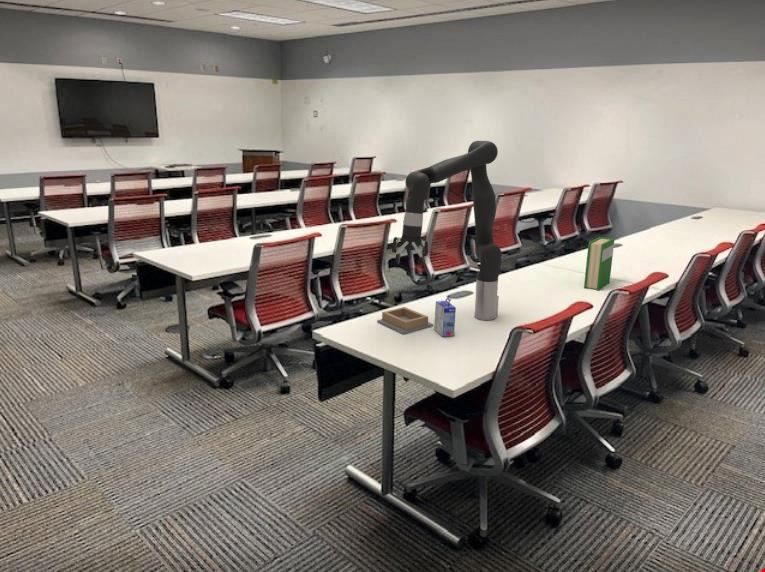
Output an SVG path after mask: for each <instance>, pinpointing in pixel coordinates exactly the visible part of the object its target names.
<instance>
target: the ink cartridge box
mask: <svg viewBox="0 0 765 572" xmlns="http://www.w3.org/2000/svg"><path fill="white" fill-rule="evenodd" d="M451 301H452V300H451V298H450V297H448V296H447V297H446V299H445V300H438V301H435V309H434V323H433V328H434V329H433V330H435V331H436V332H437V333H438V334H439V335H440V336H441V337H443V338H444V337H455V330H456V329H455V328H456V325H455V324H456V311H457V307H456V306H455V305H454V304H452V303H450V302H451Z"/></svg>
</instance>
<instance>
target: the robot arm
mask: <svg viewBox="0 0 765 572" xmlns="http://www.w3.org/2000/svg"><path fill="white" fill-rule="evenodd" d="M498 154H499V153H498V147H497V145H496V143H494V142H492V141H489V140H474V141H472V142H471V143H470V145H469V146H468V149H467V153H464V154H462V155H458V156H454V157H450V158H447V159H444V160H442V161H439V162H436V163H435V164H433V165H430V166H428V167H423V168H421V169H418V170H415V171H413V172H410V173H409V174H408V175H407V176H406V178H405V181H404V182H405V186H406V187H407V188H408V190H410V191H411V194H410V196H409V197H408V198H406V203H405V210H404V211H405V213H404V215H403V220H402V224H403V225H402V233H401V237H397V236H394V237H393V241H392V246H391V252H392V253H395V262H396V264H398V265H399V264H400V262H401V261H400V260H401V252H402V251H403V250H404V249H405V250H407V251H409V250H411V251H416V253H417V255H418V256H419V257H418V260H417V261H418V262H417V263H418V264H417V266H418V267H421V266H422V265H423V261H424V260H423V259H424V257H427V256H428V255H429V240H422V232H423V225H424V224H423V221H424V209H425V202H426V199H427V196H428V193H429V191H430V184H438V183H440V182H442V181H444V180H447V179H449V178H451V177H454V176H455V175H458V174H460V173H462V172H465V171H468V170H470V177H471V186H472V187H471V188H472V205H473V213H474V214H473V215H474V216H473V217H474V226H475V227H474V228H475V246H474V247H475V248H474V249H475V256H476V258H477V260H478V261H480V264H479V271H477V272H476V277H475V278H476V282H475V298H474V299H475V302H474V303H475V304H474V318H476V319H478V320H482V321H491V320H492V321H493V320H495V319H496V318H497V317H498V312H499V297H500V296H499V295H498V286H499V276H500V274H501V268H502V250H501V248H500V247H499V245H498V244H495V242H494V241H495V240H494V236H493V234H494V232H493V227H494V222H495V220H496V215H497V214H496V213H497V201H496V193H495V191H494V187H493V185H492V184H491V181H490V180H489V177H488V171H487V170H488V169H487V165H489V164H492V163H494V161H495V160H496V159H497V156H498ZM399 242H400V243H401V244H402V245H401V246H400V247H399V248H398V249H397V244H398V243H399ZM420 245H422V246H423V247H424V252H423V251H422V249H421V248H420Z"/></svg>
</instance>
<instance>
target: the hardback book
mask: <svg viewBox="0 0 765 572" xmlns="http://www.w3.org/2000/svg"><path fill="white" fill-rule="evenodd" d="M615 240H616V239H615V238H613V237H606V236H599V237H596V238H595V239H592V240H591V241H589V242H588V244H587V245H588V246H587V254H586V265H585V275H584V284H583V289H587V288H589V289H595V290H596V291H597V292H599V291H600V290H602V289H603V288H605V287H606V286H608V285H609V284H610V282H611V272H612V266H613V256H614V248H615V247H614V246H615Z"/></svg>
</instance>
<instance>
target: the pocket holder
mask: <svg viewBox="0 0 765 572" xmlns="http://www.w3.org/2000/svg"><path fill="white" fill-rule="evenodd" d="M377 322H378V323H377ZM376 323H377V324H379V323H380V325H381V326H384V327H385V328H389V329H390V330H392V331H394V330H395V331H394V332H397V333H398V334H401V335H408V334H411V333H415V332H419V331H422V330H425V328H426V329H428V327H429V328H432V327H431V326H433V327H434V323H431V322H429V316H428V315H426V314H424V313H421V312H419V311H416V310H413V309H411V308H408V307H406V306H402V307H397V308H394V309H390V310H389V309H388V310H386V311H382V313H381V318H380V319H377V321H376ZM414 331H415V332H414Z"/></svg>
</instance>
